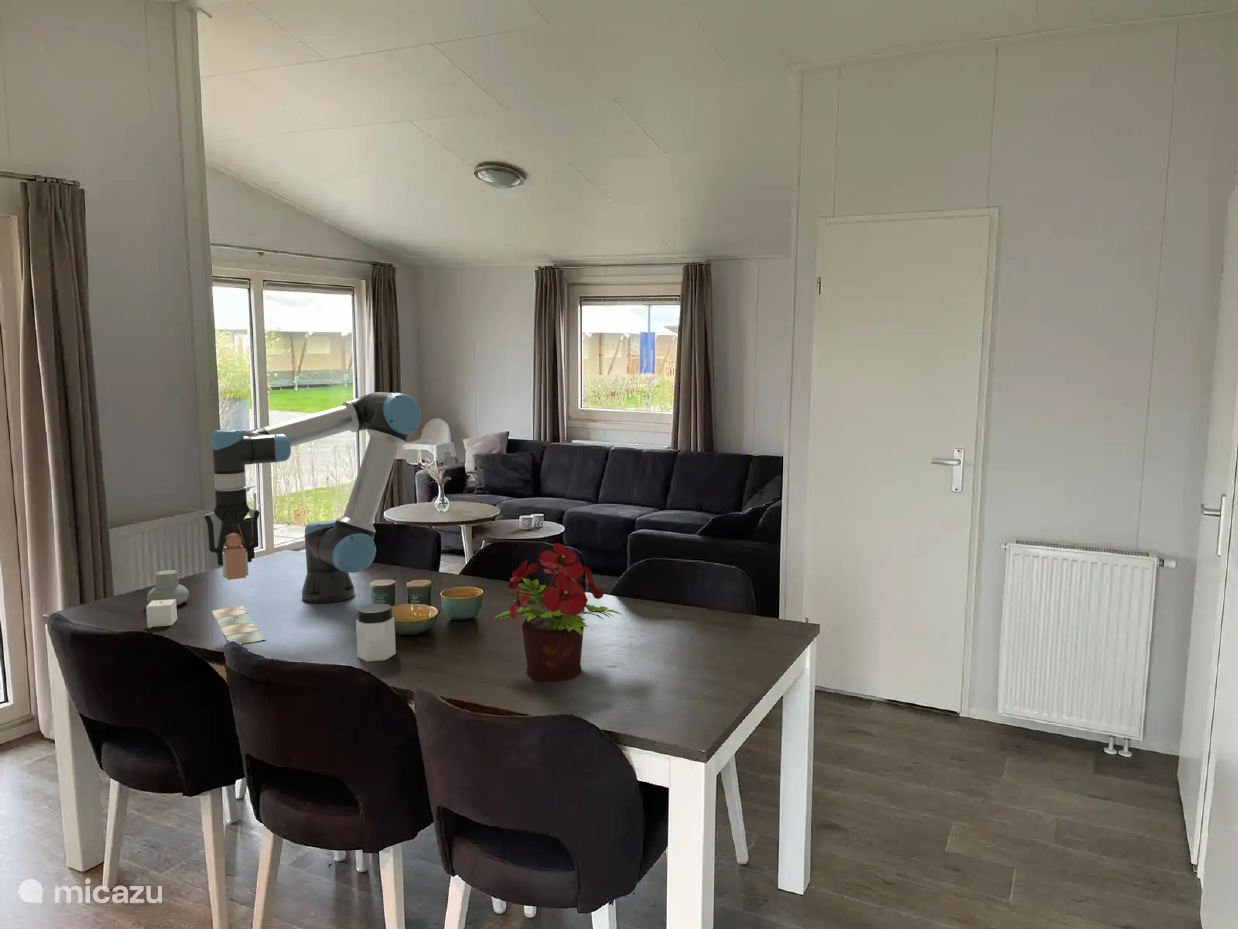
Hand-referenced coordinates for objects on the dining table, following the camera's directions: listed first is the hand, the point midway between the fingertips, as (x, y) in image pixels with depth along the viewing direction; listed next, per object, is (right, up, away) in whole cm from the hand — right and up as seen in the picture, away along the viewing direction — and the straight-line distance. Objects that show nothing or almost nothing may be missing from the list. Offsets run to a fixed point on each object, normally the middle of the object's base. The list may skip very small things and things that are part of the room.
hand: (235, 575), depth 236 cm
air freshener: (-30, -12, +25) cm, 41 cm away
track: (-2, -14, +6) cm, 15 cm away
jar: (+43, -17, -19) cm, 50 cm away
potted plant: (+88, -18, -29) cm, 95 cm away
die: (-23, -14, +7) cm, 28 cm away
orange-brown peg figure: (0, 0, 0) cm, 0 cm away
